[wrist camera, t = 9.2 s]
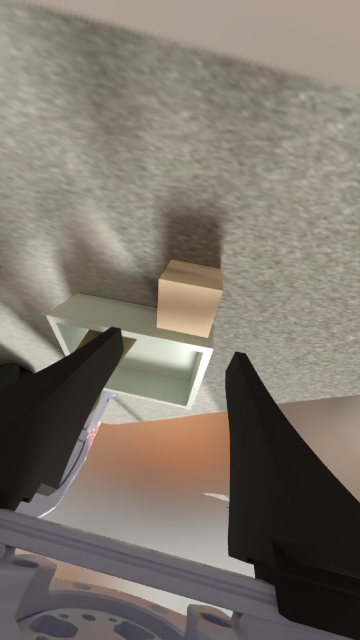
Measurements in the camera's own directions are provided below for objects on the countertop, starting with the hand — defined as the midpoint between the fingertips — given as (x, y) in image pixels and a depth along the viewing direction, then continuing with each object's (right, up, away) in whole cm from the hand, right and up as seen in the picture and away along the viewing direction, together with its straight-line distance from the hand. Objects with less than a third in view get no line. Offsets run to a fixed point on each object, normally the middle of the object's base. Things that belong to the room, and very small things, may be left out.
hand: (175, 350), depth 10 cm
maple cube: (+2, +6, +8) cm, 10 cm away
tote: (-5, -2, +14) cm, 15 cm away
